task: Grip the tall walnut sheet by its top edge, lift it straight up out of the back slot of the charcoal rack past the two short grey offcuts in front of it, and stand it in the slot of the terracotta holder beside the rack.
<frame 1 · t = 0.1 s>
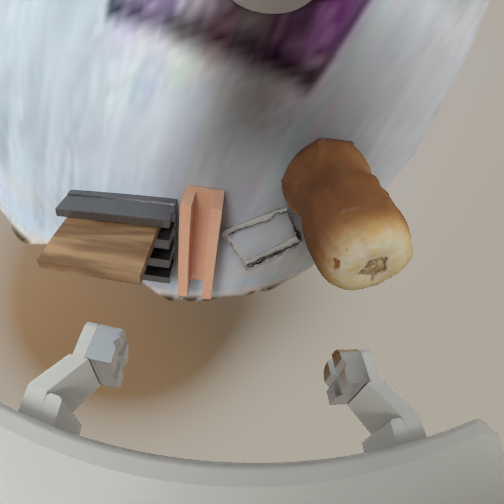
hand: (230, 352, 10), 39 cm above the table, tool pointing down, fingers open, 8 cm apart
butternut squash: (318, 164, 46), on the table
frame: (264, 233, 56), on the table
holder: (201, 235, 55), on the table
rack: (122, 226, 53), on the table
tall sheet: (118, 211, 49), point 1 cm above the table, touching rack
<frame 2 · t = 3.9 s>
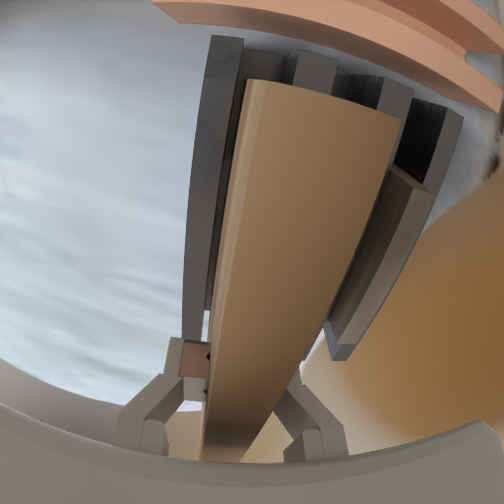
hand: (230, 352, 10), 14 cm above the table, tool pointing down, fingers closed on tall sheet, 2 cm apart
offcut b: (349, 223, 22), point 1 cm above the table, touching rack
holder: (339, 9, 14), on the table
rack: (292, 205, 23), on the table
tall sheet: (235, 205, 21), point 2 cm above the table, touching gripper, rack
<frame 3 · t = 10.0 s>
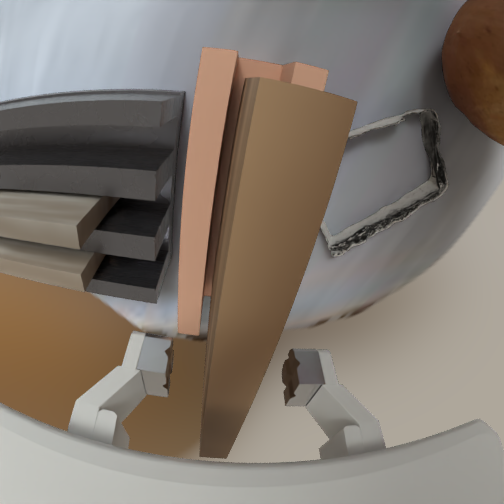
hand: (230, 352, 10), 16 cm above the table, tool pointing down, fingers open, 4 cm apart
offcut b: (59, 224, 22), point 1 cm above the table, touching rack
butternut squash: (466, 60, 16), on the table
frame: (371, 170, 23), on the table
holder: (235, 189, 23), on the table
rack: (62, 173, 21), on the table
tall sheet: (235, 196, 22), point 2 cm above the table, touching holder
offcut a: (53, 179, 20), point 1 cm above the table, touching rack
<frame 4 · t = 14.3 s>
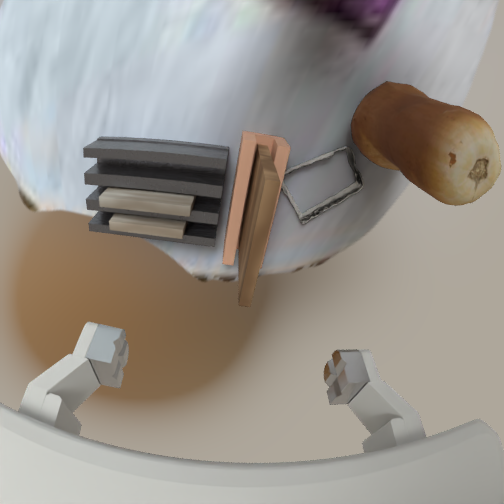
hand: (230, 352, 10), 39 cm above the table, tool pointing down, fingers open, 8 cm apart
offcut b: (155, 209, 48), point 1 cm above the table, touching rack
butternut squash: (377, 117, 41), on the table
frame: (320, 179, 48), on the table
holder: (251, 193, 49), on the table
rack: (158, 181, 47), on the table
tall sheet: (251, 196, 47), point 1 cm above the table, touching holder
offcut a: (156, 185, 45), point 1 cm above the table, touching rack
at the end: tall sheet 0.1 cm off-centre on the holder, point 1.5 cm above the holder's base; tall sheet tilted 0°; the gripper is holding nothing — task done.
